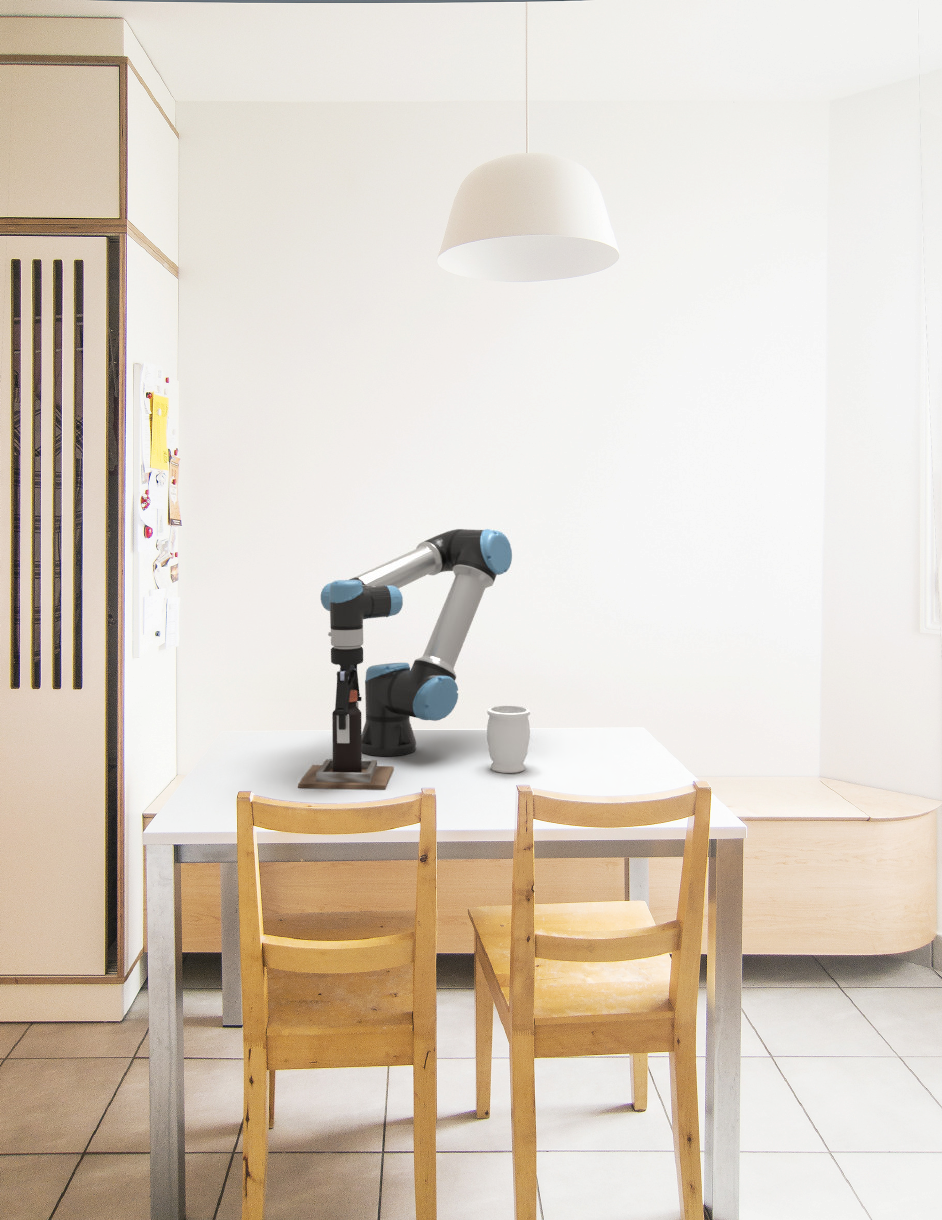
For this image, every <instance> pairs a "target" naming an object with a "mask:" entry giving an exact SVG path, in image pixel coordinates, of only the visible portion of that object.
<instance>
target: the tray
mask: <svg viewBox="0 0 942 1220" xmlns="http://www.w3.org/2000/svg"><path fill="white" fill-rule="evenodd" d="M394 770H395V768H394V765H393V766H390V765H378V760H377V759H362V773H355V772H333V758H332V759H331V758H326V759H325V761H324V762H323V763H322V764H312V765H311V766H310V767H309V769H308V770H307V772H306V773H305V774H304V776H302V778H301V779H300V781H299V782H298V783H297V787H298V789H330V790H331V789H332V790H333V789H335V790H336V789H337V790H340V789H341V790H380V791H381V790H382V791H383V790H385V791H386V790H387V786H388V784H389V782H390V780H391V777H392V775H393V773H394Z"/></svg>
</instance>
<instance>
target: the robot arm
mask: <svg viewBox="0 0 942 1220" xmlns="http://www.w3.org/2000/svg"><path fill="white" fill-rule="evenodd" d="M512 559H513V553H512V547H511V543H510V541H509V539H508V537H507V536H506V535H505V533H503V532H502V531H499V530H495V529H494V530H492V529H488V528H487V529H467V528H466V529H464V528H456V529H451V530H448V531H445V532H443V533H440V534H437V535H435V536H433V537H431V538H428V539H426V540H424V541H422V542H420V543H418V545H417V546H416V548H415V549H413V550H412V551H409V552H407V553H405V554H402V555H401V556H398V557H396V558H394V559H392V560H390V561H387V562H385V563H382V564H379V566H376V567H374V568H372V569H370V570H367V571H365V572H363V573H361V574H359V575H357V576H354V577H352V578H350V579H337V580H334V581H332V582H329V583H327V584H326V585H324V587H323V588H322V589H321V593H320V603H321V605H322V607H323V608H324V609H325V610H326V611H328V612H329V617H330V619H329V620H330V622H329V623H330V626H329V627H330V631H329V632H327V633H328V634H327V635H328V637H330V645H331V646H332V647H331V648H330V662H331V664H333V665H337V666H339V670H338V671H337V672H336V691H335V693H336V694H335V704H334V705H335V707H334V710H335V712H333V711H332V713H333V715H337V743H349V715H348V707H349V698H350V690H356V691H357V703H356V707H357V708H358V709H359V708H360V707H359V702H362V696H361V694H360V685H359V676H358V675H359V674H358V665H361V664H362V663H364V648H363V647H362V645H364V620H368V619H378V618H388V617H391V616H392V617H393V616H396V615H398V614H399V613H400V611H401V610H402V608H403V604H404V603H403V602H404V600H403V595H402V591H401V590H400V588H402V587H404V586H406V585H408V584H411V583H413V582H415V581H417V580H419V579H421V578H424V577H426V576H427V575H428V576H436V575H438V574H441V573H445V572H453V574H454V579H453V582H452V584H451V585H450V586H451V587H450V589H449V591H448V594H447V597H446V599H445V601H444V604H443V605H442V608H441V611H440V613H439V615H438V618H437V620H436V623H435V625H434V628H433V631H432V633H431V634H430V638H429V640H428V642H427V645H426V648H425V650H424V653H423V655H422V656H421V657H418V658H415V659H414V662H413V663H412V666H410V663H408V662H390V663H380V664H375V665H371V666H369V667H368V668H367V669H366V671H365V681H364V687H365V688H364V691H365V694H364V695H365V698H364V699H365V722H364V726H363V728H362V731H361V736H362V754H365V755H369V756H375V757H395V756H398V757H399V756H404V755H407V754H408V755H409V754H411V753H413V752H416V751H417V739H416V736H415V733H414V730H413V727H412V724H411V720H410V717H411V718H417V719H419V720H422V721H435V722H437V721H440V720H443V719H445V718H446V717H448V716H449V715H450V714H451V713H452V712H453V711H454V709H455V708H456V705H457V702H458V698H459V693H458V691H459V687H458V684H457V682H456V679H457V674H456V672H455V670H454V668H455V665H456V663H457V661H458V658H459V655H460V654H461V650H462V648H463V646H464V643H465V640H466V637H467V636H468V633H469V632H470V631H469V630H470V627H471V625H472V623H473V621H474V617H475V615H476V613H477V611H478V608H479V605H480V602H481V600H482V599H483V598H482V597H483V595H484V592H485V590H486V589H487V588H490V587H492V586H493V585H494V583H495V580H496V578H497V576H500V575H503V574H504V573H507V572H508V570H510V567H511V565H512ZM359 710H360V709H359Z"/></svg>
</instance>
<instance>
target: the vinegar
mask: <svg viewBox="0 0 942 1220" xmlns="http://www.w3.org/2000/svg"><path fill="white" fill-rule="evenodd" d="M357 702H358V701H357V691H356V690H350V698H349V707H348V715H349V743H337V715H333V712H335V709H334V710H333V711H332V712H331V713H332V717H331V718H332V720H331V721H332V732H331V733H332V759H333V772H355V773H362V760H363V759H362V754H363V753H362V736H361V735H362V711H361V709H358V708H359V707H358V708H357V707H356V703H357Z"/></svg>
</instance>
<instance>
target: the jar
mask: <svg viewBox="0 0 942 1220" xmlns="http://www.w3.org/2000/svg"><path fill="white" fill-rule="evenodd" d="M487 715H489V717H488V721H487V725H486V740H487V746H488V753H489V756H490V760H491V761H492V763H491V764H490V768H491V770H492V771H494V772H496V773H497V772H498V773H502V774H503V773H504V774H515V773H520V772H523V771H525V769H526V766H525V764H524V762H525V760H526V758H527V755H528V749H529V744H530V739H531V738H530V737H531V727H530V720H529V716H530V715H531V709H530V708H527V707H523V706H518V705H517V706H515V705H497V706H492V707H489V708H487Z"/></svg>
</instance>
